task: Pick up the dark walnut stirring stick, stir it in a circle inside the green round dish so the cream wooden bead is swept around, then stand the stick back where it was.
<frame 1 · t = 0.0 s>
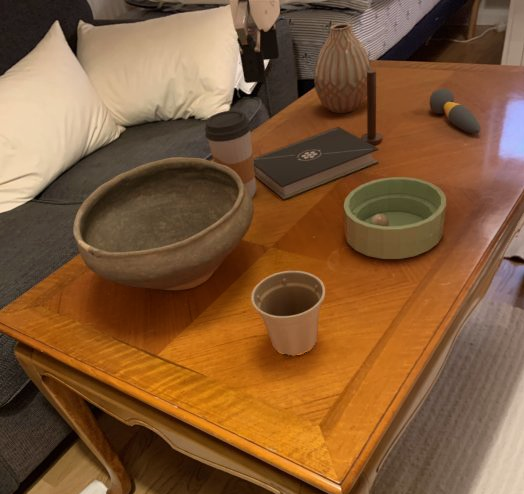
hand: (262, 69, 79), 24 cm above the table, tool pointing down, fingers open, 9 cm apart
bowl: (182, 273, 87), on the table
flower pot: (295, 341, 72), on the table
coffee cup: (240, 195, 103), on the table
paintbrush: (454, 121, 112), on the table
vase: (343, 108, 125), on the table
stick: (371, 141, 111), on the table
green round dish: (392, 233, 86), on the table
bead: (370, 223, 85), point 2 cm above the table, tilted 87°, touching green round dish
book: (313, 168, 106), on the table
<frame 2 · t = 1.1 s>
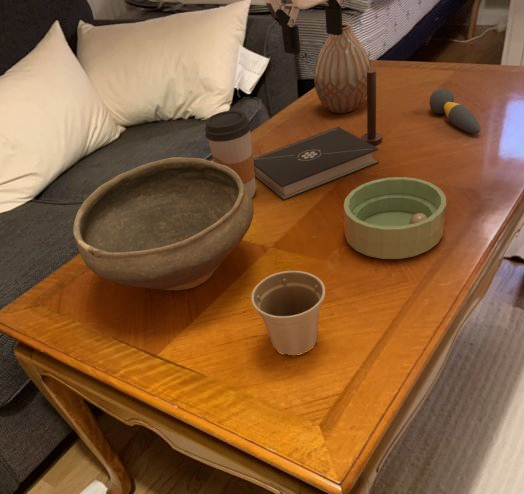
hand: (314, 43, 86), 24 cm above the table, tool pointing down, fingers open, 9 cm apart
bead: (424, 229, 84), point 1 cm above the table, tilted 34°, touching green round dish
everything else where it was.
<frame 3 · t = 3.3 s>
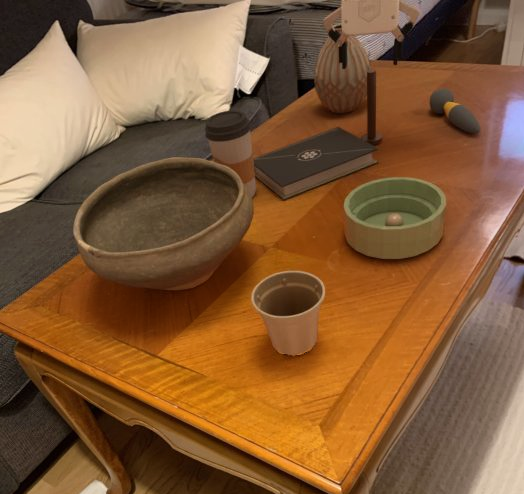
hand: (369, 64, 100), 15 cm above the table, tool pointing down, fingers open, 9 cm apart
bead: (393, 214, 83), point 4 cm above the table, tilted 177°, touching green round dish
everything else where it was.
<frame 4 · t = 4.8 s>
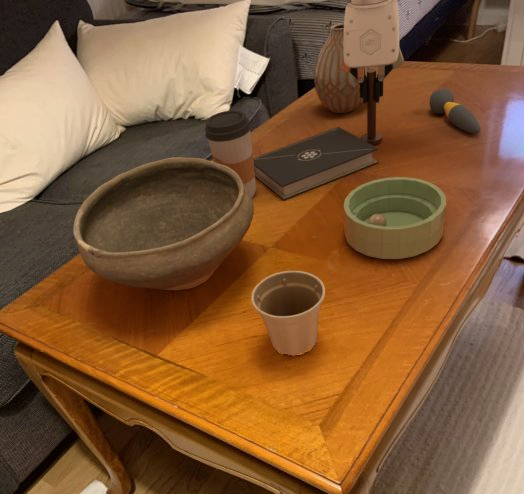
hand: (371, 99, 105), 9 cm above the table, tool pointing down, fingers closed on stick
stick: (371, 141, 111), on the table, touching gripper
bead: (368, 225, 86), point 2 cm above the table, tilted 75°, touching green round dish
everything else where it was.
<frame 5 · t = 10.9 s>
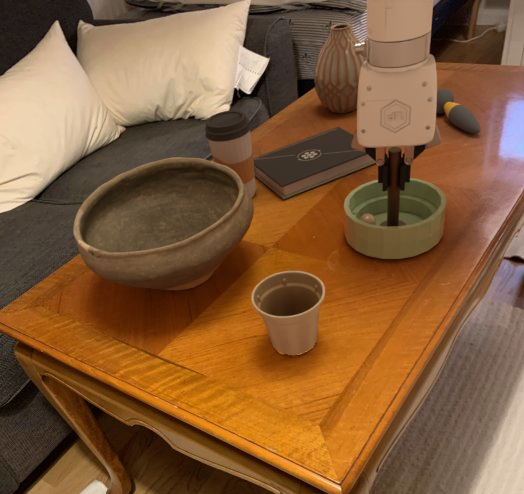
hand: (393, 185, 77), 10 cm above the table, tool pointing down, fingers closed on stick
stick: (392, 232, 83), point 2 cm above the table, touching gripper
bead: (364, 230, 87), point 1 cm above the table, tilted 19°, touching green round dish
everything else where it was.
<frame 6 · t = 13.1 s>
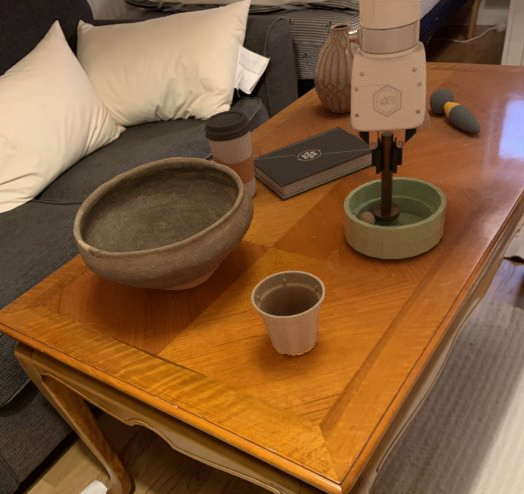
hand: (386, 168, 80), 10 cm above the table, tool pointing down, fingers closed on stick
stick: (386, 214, 86), point 2 cm above the table, touching bead, gripper
bead: (362, 229, 87), point 1 cm above the table, tilted 28°, touching green round dish, stick
everything else where it was.
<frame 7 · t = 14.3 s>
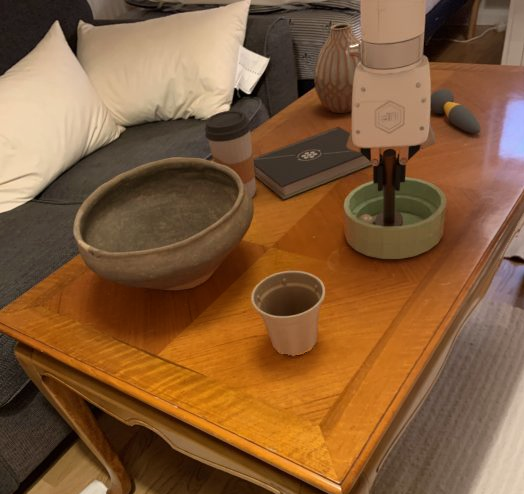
hand: (389, 185, 77), 10 cm above the table, tool pointing down, fingers closed on stick
stick: (388, 224, 84), point 2 cm above the table, tilted 13°, touching gripper
bead: (362, 231, 87), point 1 cm above the table, tilted 24°, touching green round dish
everything else where it was.
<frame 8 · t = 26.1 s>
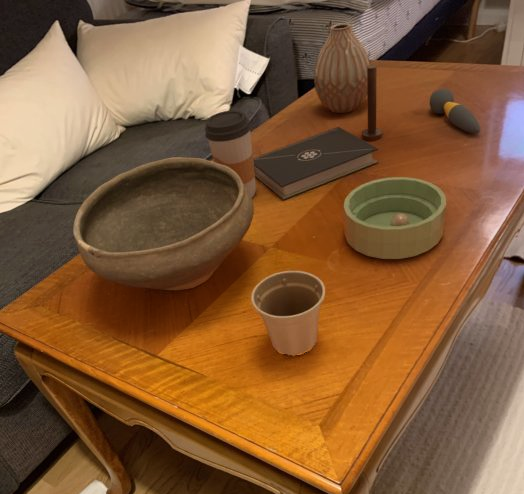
stick: (371, 136, 112), on the table
bead: (408, 218, 83), point 3 cm above the table, tilted 126°, touching green round dish
everything else where it was.
at the end: bead moved 6.1 cm from its start; bead inside the target area in the green round dish (2.4 cm from its centre), point 2.9 cm above the green round dish's base; stick inside the target area (2.3 cm from its centre), on the table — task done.
